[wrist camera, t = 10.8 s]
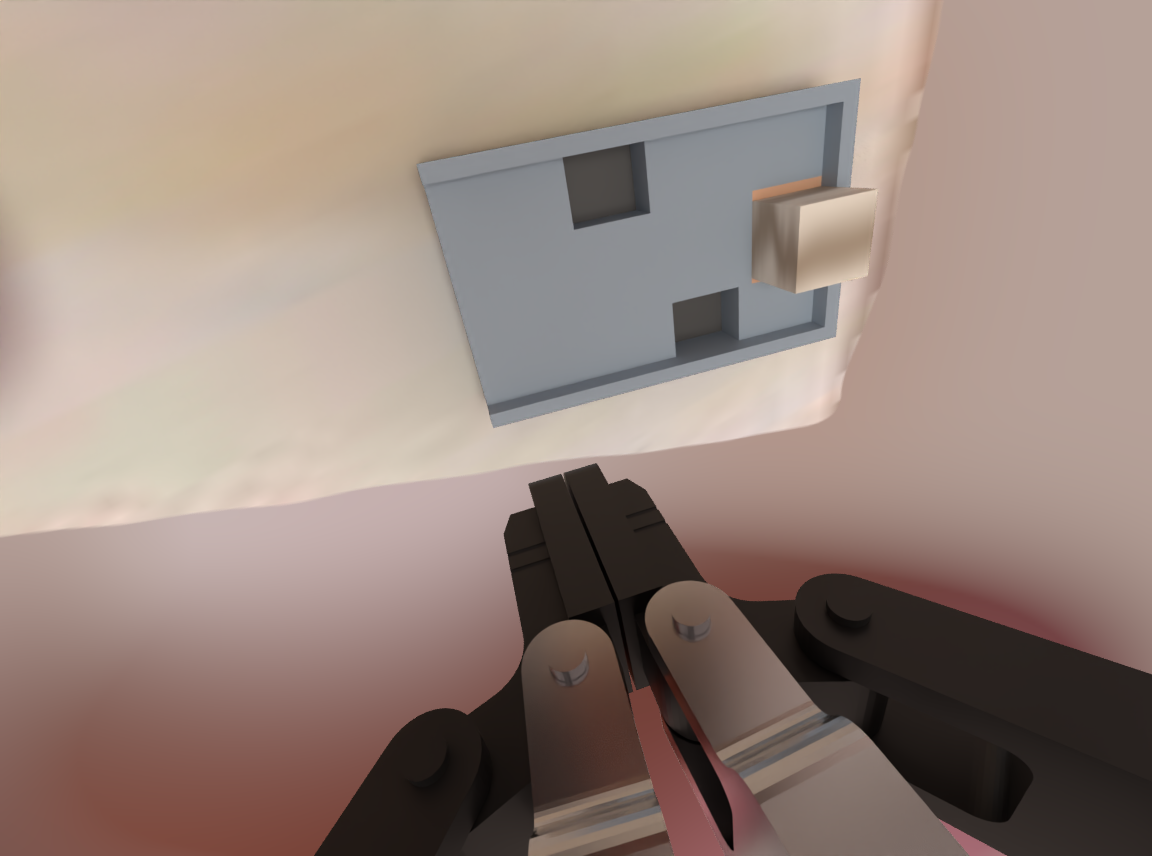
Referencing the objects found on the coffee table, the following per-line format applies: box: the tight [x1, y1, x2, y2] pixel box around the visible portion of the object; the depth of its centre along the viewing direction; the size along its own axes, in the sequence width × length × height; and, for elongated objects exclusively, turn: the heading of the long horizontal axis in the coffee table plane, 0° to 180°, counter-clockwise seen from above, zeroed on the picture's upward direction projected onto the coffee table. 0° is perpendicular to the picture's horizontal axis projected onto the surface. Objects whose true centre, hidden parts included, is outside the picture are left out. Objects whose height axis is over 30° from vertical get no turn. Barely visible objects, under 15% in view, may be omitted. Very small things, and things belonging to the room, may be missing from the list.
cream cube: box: [752, 186, 878, 294], centre depth 32 cm, size 5×5×5 cm
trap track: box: [417, 78, 861, 428], centre depth 33 cm, size 16×26×4 cm, turn 100°
